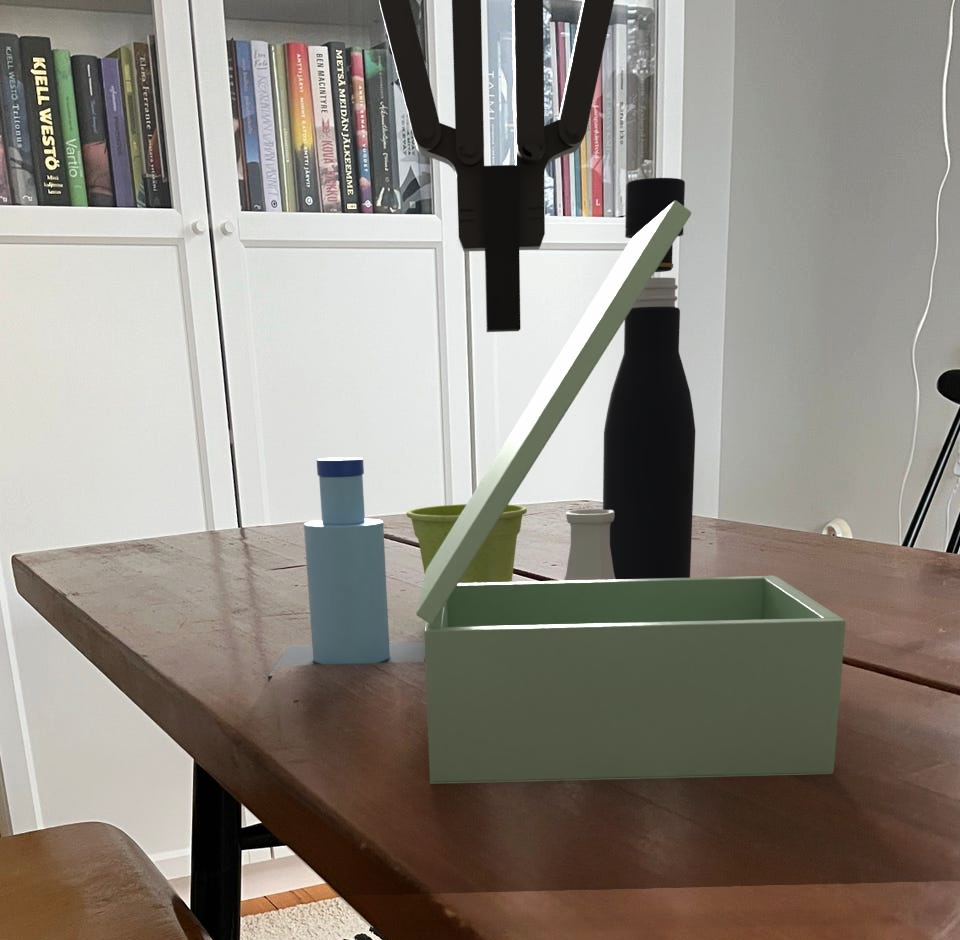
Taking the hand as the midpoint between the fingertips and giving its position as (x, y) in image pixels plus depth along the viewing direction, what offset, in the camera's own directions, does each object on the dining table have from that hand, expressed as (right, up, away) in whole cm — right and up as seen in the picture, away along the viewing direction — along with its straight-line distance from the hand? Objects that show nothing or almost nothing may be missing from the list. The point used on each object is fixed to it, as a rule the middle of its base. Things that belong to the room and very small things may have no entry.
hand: (503, 330), depth 58 cm
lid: (+2, -4, +1) cm, 5 cm away
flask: (+6, -12, +27) cm, 30 cm away
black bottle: (+11, -8, +36) cm, 39 cm away
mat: (-10, -11, +29) cm, 32 cm away
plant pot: (-2, -5, +44) cm, 44 cm away
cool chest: (+6, -19, +7) cm, 21 cm away
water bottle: (-10, -11, +28) cm, 32 cm away
